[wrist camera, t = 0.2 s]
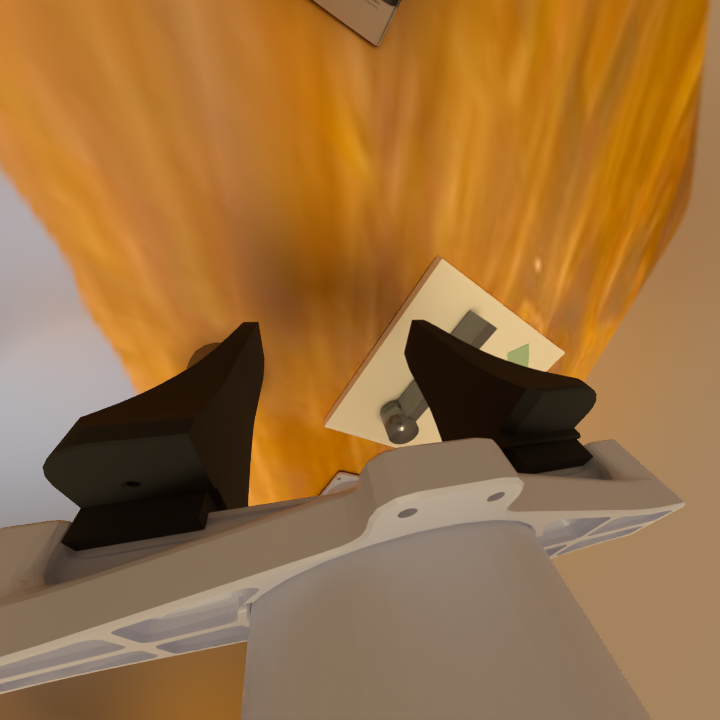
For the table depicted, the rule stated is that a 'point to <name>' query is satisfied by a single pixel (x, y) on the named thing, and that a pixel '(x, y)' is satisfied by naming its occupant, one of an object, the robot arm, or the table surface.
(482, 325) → the pointer
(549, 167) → the table surface
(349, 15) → the tea box
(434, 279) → the dial board
